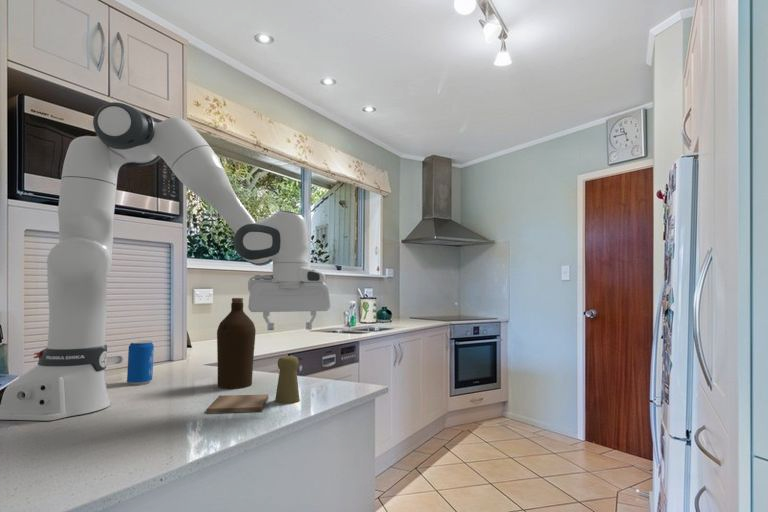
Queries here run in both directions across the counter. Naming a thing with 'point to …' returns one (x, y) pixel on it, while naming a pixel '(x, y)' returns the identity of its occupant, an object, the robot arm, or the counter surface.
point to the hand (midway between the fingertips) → (289, 329)
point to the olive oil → (235, 348)
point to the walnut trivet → (238, 403)
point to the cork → (287, 381)
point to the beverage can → (140, 362)
